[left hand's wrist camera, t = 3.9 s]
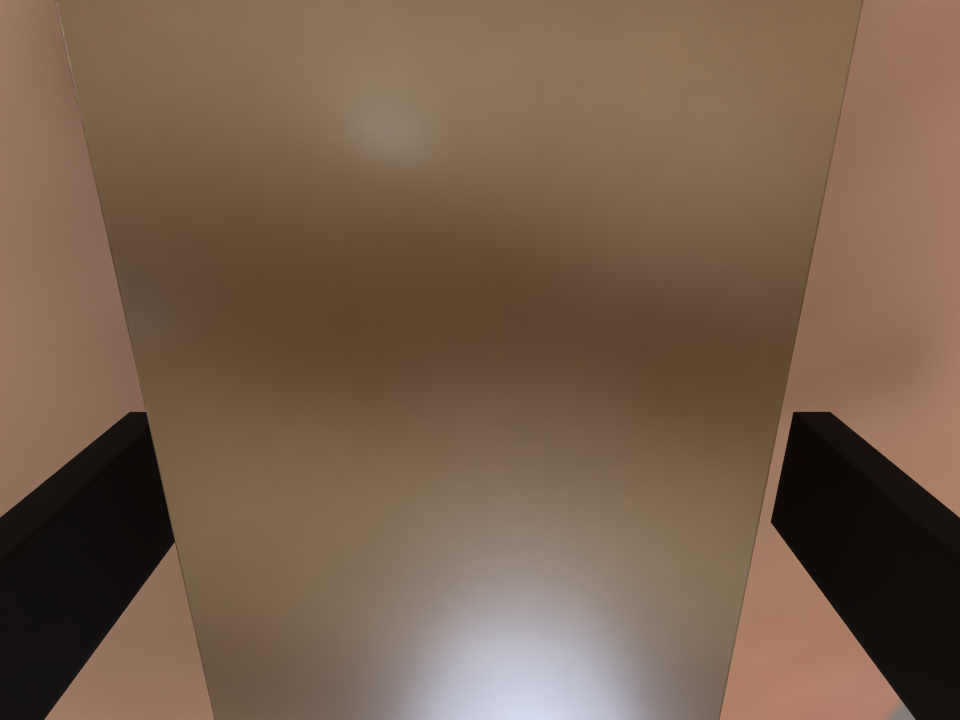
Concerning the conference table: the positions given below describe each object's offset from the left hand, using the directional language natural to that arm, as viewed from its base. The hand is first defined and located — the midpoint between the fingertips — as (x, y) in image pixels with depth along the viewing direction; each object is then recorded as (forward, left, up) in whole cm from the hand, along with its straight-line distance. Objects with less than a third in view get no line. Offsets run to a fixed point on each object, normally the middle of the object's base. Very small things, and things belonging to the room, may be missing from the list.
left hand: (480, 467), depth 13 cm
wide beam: (-18, +8, -4) cm, 20 cm away
